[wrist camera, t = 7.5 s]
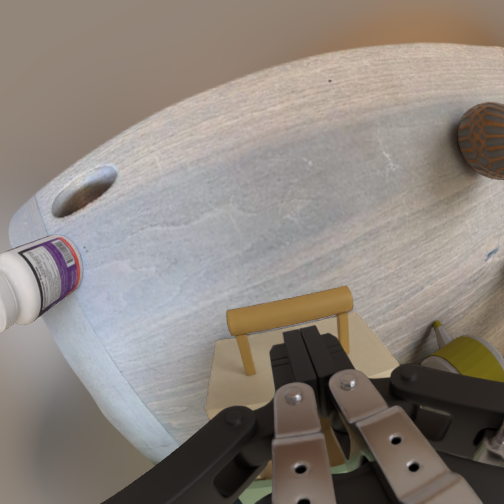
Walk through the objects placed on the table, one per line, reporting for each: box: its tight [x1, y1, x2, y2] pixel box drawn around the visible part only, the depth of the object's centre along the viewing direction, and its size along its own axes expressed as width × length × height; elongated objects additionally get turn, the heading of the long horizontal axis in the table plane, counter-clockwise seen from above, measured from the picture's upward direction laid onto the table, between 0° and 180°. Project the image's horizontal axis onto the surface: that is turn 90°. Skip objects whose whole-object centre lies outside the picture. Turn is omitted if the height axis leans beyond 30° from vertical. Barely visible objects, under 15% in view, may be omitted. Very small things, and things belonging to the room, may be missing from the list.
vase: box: [458, 102, 504, 180], centre depth 14 cm, size 7×7×9 cm
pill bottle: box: [0, 235, 83, 332], centre depth 15 cm, size 5×5×10 cm
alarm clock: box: [421, 320, 504, 460], centre depth 16 cm, size 12×7×15 cm, turn 22°
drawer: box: [205, 286, 400, 481], centre depth 18 cm, size 18×11×8 cm, turn 11°
